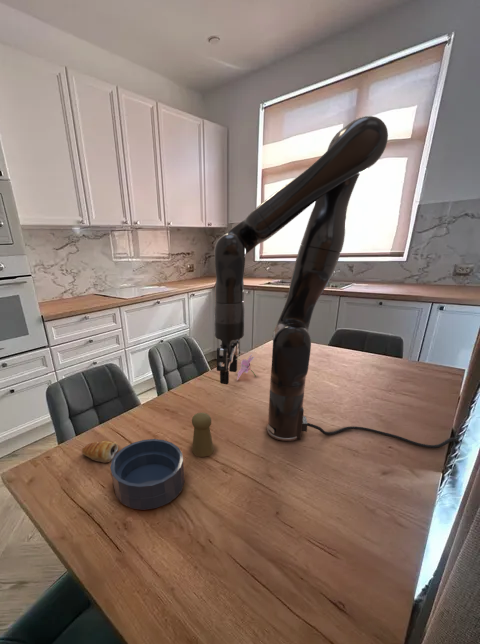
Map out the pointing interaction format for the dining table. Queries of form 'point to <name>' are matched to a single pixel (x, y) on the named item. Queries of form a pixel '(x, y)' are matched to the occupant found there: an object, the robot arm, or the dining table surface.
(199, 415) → the olive game pawn
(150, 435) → the dining table surface
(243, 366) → the lily
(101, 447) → the pastry
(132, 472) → the basin
